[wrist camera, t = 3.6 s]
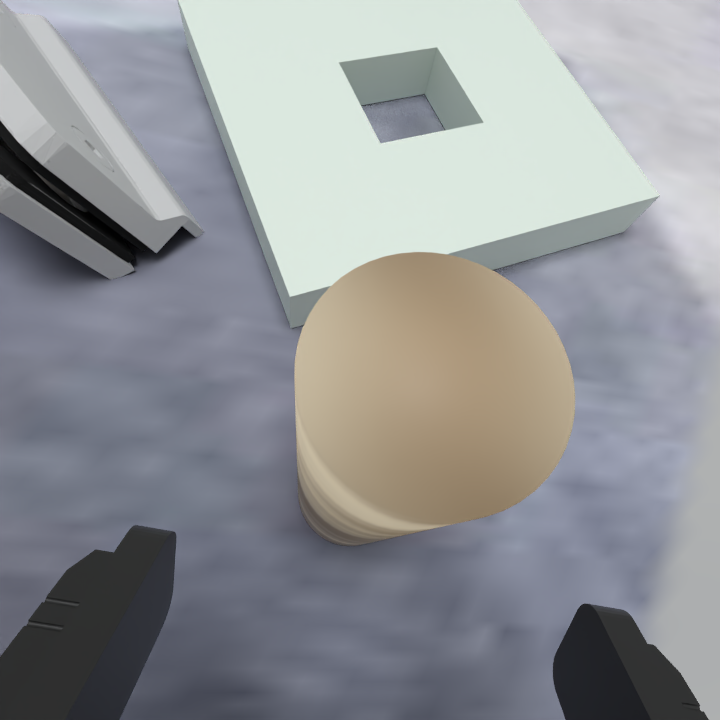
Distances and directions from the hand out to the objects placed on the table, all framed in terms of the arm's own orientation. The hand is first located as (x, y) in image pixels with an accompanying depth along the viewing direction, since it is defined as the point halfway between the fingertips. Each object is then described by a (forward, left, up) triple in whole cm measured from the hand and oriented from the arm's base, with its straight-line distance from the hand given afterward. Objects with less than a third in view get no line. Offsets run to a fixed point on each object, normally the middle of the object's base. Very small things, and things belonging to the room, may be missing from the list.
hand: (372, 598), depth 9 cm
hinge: (-6, +24, -11) cm, 27 cm away
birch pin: (+2, +3, -10) cm, 11 cm away
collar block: (+12, +21, -10) cm, 26 cm away
